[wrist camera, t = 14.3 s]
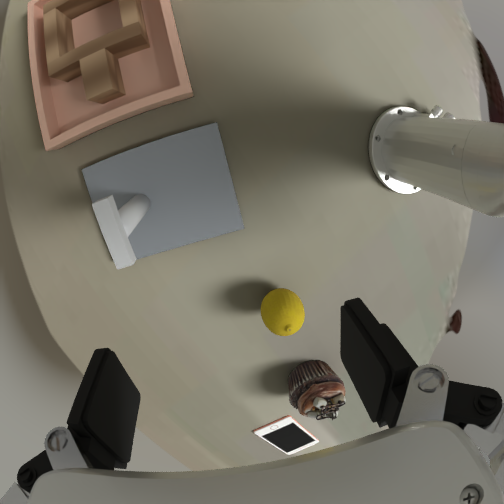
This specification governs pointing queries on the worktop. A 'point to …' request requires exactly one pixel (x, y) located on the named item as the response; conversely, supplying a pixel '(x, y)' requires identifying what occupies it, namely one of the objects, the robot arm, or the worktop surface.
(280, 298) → the lemon
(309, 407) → the cupcake
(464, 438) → the robot arm
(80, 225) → the worktop surface
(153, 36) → the tray
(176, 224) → the stand
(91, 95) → the wooden bar frame
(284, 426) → the cell phone
